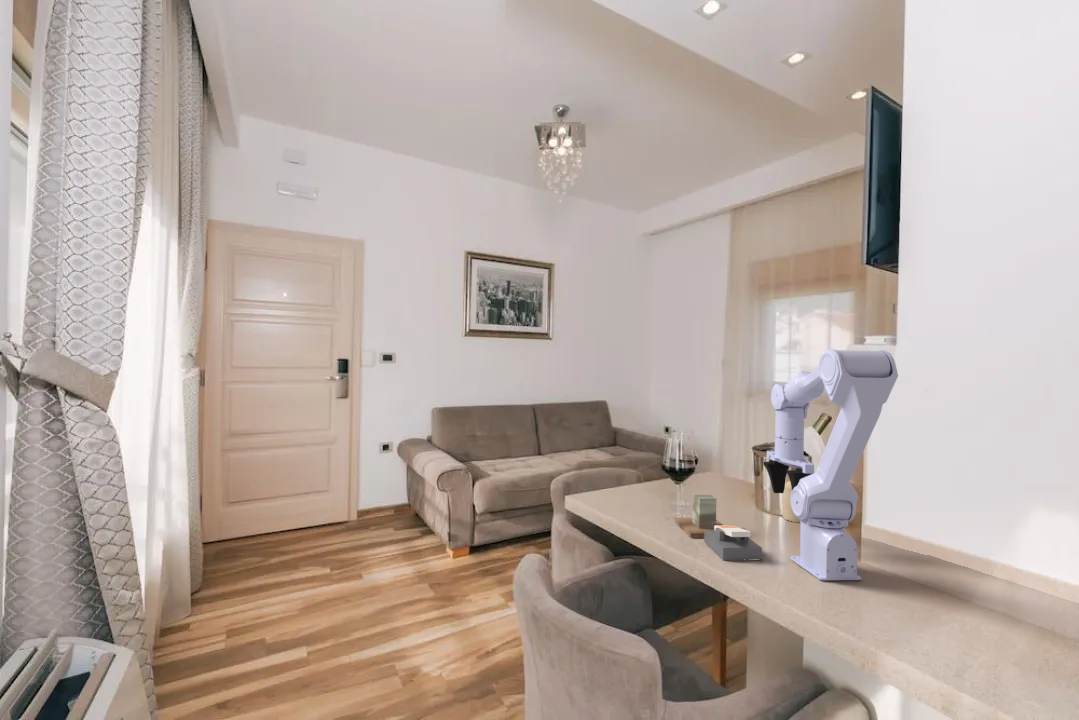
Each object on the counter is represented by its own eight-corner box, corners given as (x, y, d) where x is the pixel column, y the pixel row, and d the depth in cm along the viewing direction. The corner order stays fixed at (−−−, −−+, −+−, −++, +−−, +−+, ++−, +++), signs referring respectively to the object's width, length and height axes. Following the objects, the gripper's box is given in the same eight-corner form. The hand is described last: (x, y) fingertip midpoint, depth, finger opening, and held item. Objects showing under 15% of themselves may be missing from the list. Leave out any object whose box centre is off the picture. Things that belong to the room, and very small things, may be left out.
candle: (805, 524, 112) (806, 484, 112) (780, 519, 115) (781, 480, 115) (808, 518, 116) (808, 480, 116) (784, 514, 119) (784, 476, 119)
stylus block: (715, 528, 105) (716, 498, 105) (699, 528, 105) (699, 498, 105) (708, 522, 109) (709, 493, 109) (692, 522, 109) (692, 493, 109)
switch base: (761, 560, 91) (762, 537, 91) (723, 560, 90) (723, 537, 90) (739, 542, 100) (739, 521, 100) (704, 542, 99) (704, 521, 99)
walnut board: (733, 537, 102) (733, 533, 102) (690, 537, 102) (690, 533, 102) (714, 522, 112) (714, 518, 112) (675, 522, 112) (675, 518, 112)
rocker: (751, 536, 91) (750, 531, 91) (732, 536, 91) (731, 531, 91) (732, 530, 99) (731, 525, 99) (714, 530, 99) (714, 525, 99)
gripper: (755, 432, 109) (754, 488, 109) (791, 443, 95) (790, 508, 95) (783, 432, 109) (782, 488, 109) (824, 443, 95) (823, 508, 95)
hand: (788, 497), depth 102 cm, fingers open, 7 cm apart
